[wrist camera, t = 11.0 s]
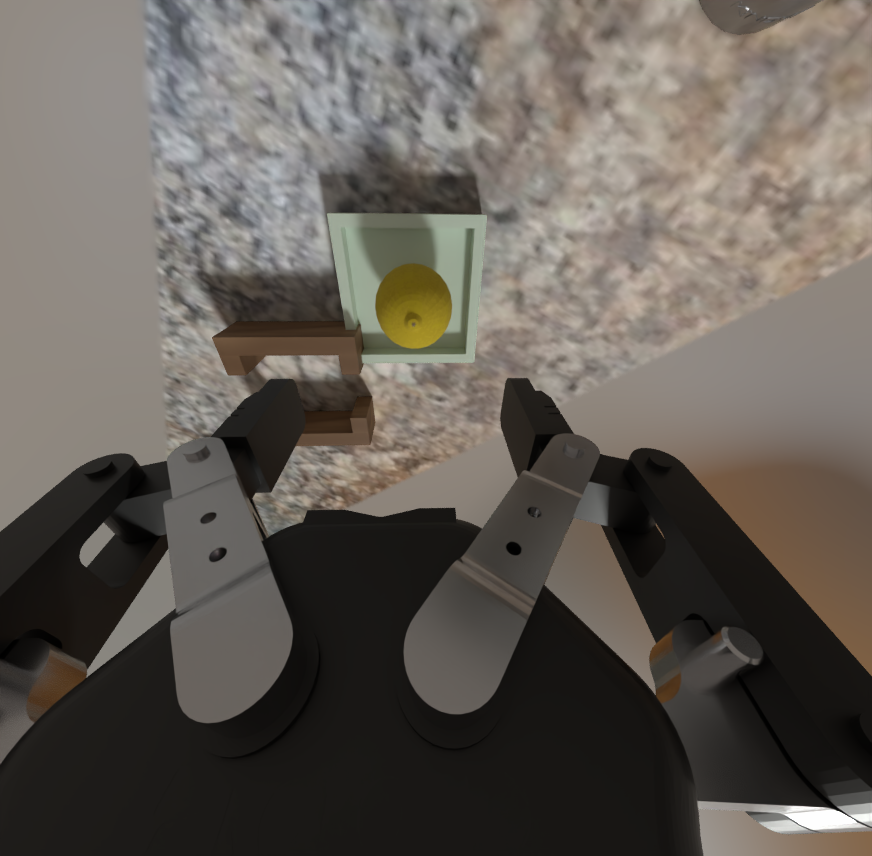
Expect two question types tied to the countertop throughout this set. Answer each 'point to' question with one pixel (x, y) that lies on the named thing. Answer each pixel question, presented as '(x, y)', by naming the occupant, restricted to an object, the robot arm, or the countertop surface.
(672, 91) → the countertop surface
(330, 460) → the countertop surface
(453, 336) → the dish
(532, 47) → the countertop surface
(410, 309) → the lemon
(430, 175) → the countertop surface
